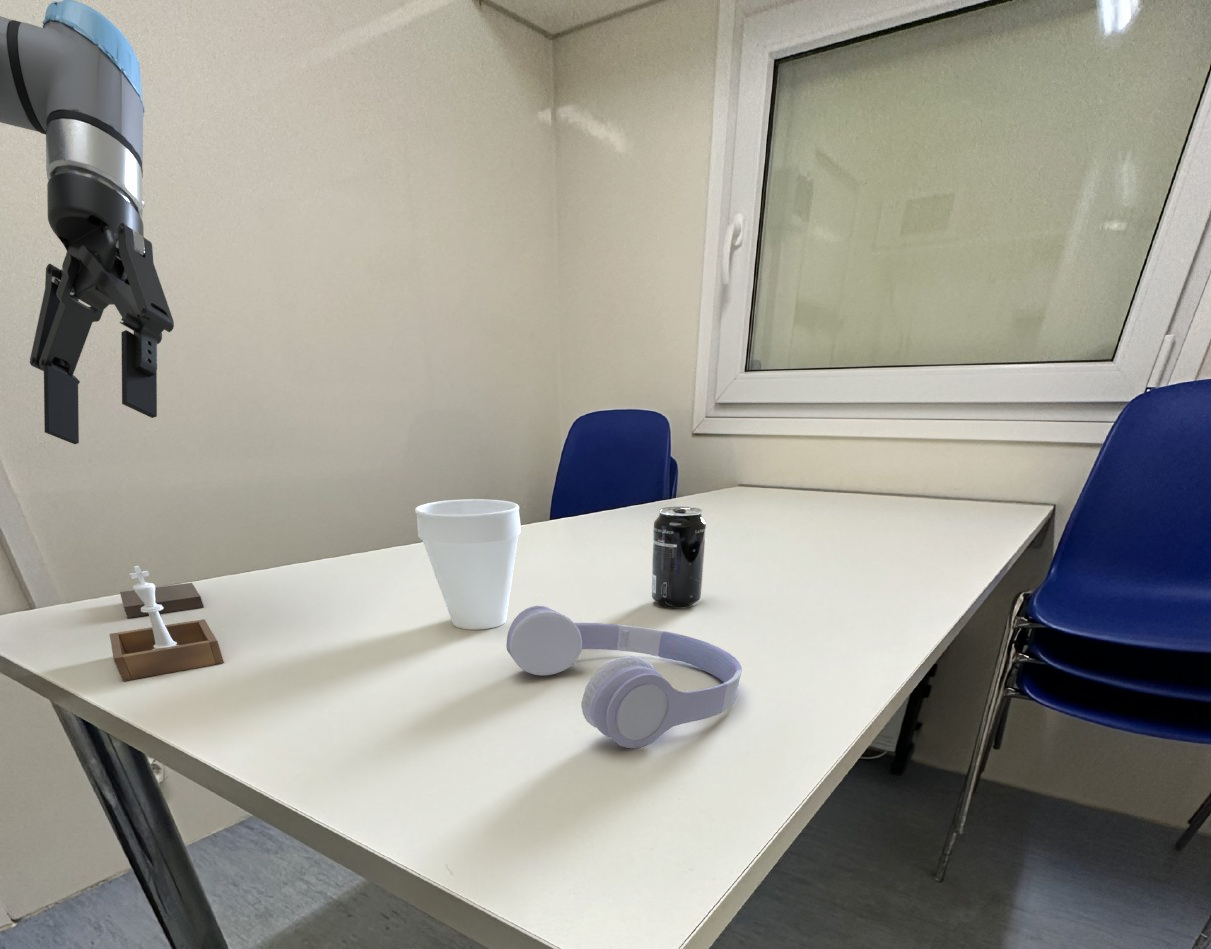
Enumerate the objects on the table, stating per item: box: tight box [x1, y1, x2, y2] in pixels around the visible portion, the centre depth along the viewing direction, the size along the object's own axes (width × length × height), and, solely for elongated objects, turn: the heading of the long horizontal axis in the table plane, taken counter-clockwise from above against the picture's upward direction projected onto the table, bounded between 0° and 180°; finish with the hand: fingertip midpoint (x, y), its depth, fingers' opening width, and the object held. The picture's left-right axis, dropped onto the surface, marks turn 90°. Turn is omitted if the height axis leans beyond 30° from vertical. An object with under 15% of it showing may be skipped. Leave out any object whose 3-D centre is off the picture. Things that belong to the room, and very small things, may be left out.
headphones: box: [505, 605, 743, 749], centre depth 65 cm, size 22×7×20 cm
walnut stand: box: [119, 582, 205, 619], centre depth 93 cm, size 9×9×2 cm
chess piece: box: [128, 565, 178, 650], centre depth 72 cm, size 5×5×10 cm
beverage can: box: [651, 506, 707, 609], centre depth 90 cm, size 7×7×12 cm
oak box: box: [109, 618, 225, 682], centre depth 74 cm, size 10×10×2 cm
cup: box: [414, 498, 522, 631], centre depth 83 cm, size 12×12×14 cm
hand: (99, 425), depth 67 cm, fingers open, 13 cm apart
